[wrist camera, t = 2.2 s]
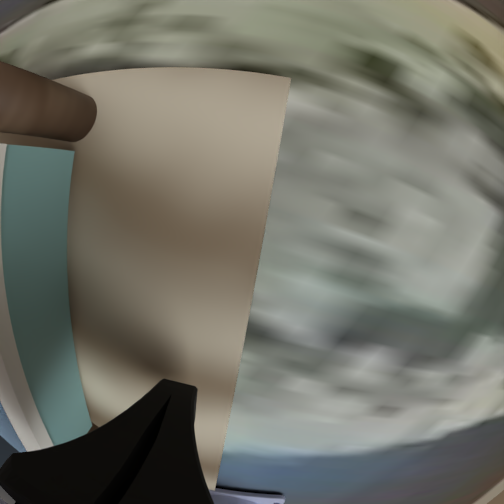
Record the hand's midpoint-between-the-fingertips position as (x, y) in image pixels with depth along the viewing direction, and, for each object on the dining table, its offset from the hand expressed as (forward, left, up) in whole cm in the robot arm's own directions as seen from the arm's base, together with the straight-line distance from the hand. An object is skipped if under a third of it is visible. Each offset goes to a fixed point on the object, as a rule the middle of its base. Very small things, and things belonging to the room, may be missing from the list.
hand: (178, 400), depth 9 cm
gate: (+2, +6, -1) cm, 6 cm away
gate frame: (+1, +8, -2) cm, 8 cm away
